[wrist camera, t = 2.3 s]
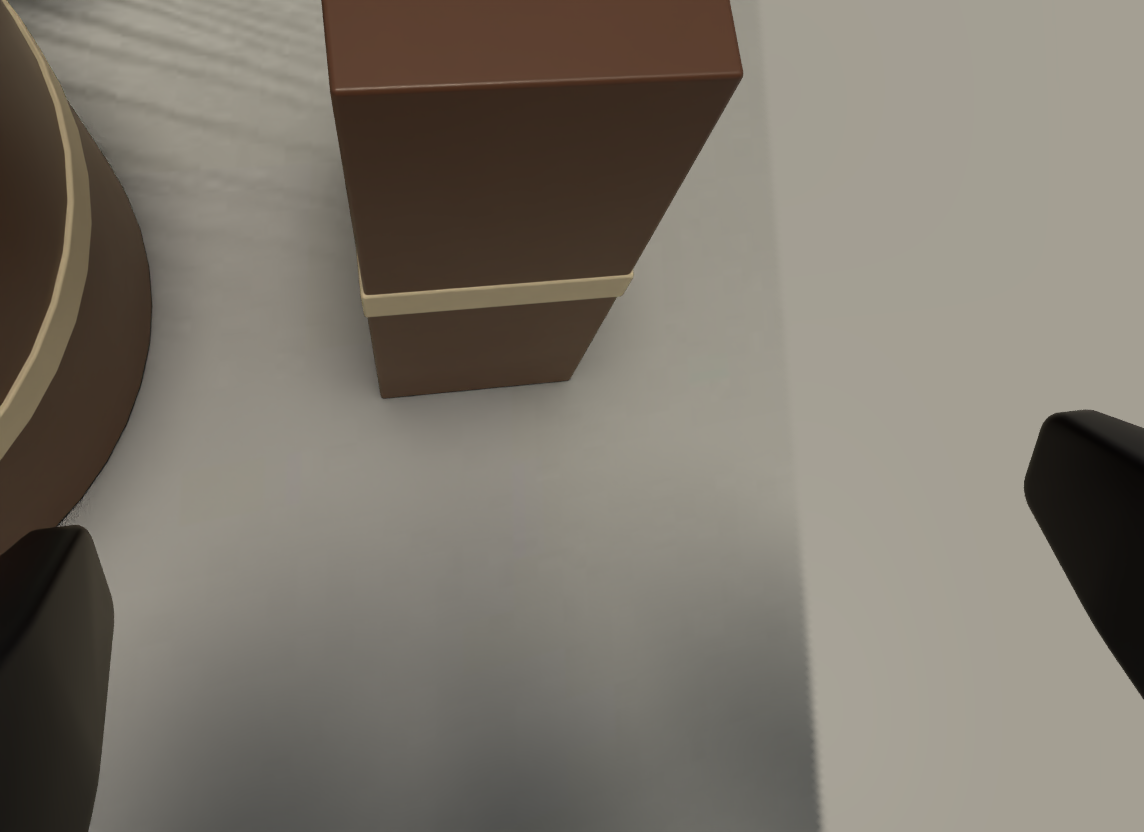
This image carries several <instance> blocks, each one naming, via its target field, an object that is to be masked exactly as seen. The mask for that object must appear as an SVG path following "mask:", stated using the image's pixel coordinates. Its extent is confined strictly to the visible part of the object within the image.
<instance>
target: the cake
mask: <svg viewBox="0 0 1144 832" xmlns="http://www.w3.org/2000/svg"><path fill="white" fill-rule="evenodd" d="M151 309H152V302H151V289H150V277H149V266H148V261H147V257H146V253H145V248H144V244H143V240H142V235H141V231H140V228H139V225H138V223H137V220H136V218H135V215H134V213H133V210H132V207H131V205H130V202H129V200H128V197H127V195H126V193H125V191H124V189H123V188H122V186H121V184H120V182H119V181H118V179H117V177H116V175H115V174H114V172H113V170H112V168H111V167H110V165H109V163H108V161H107V160H106V158H105V157H104V155H103V154H102V152H101V151H100V149H99V148H98V146H97V145H96V143H95V142H94V140H93V139H92V137H91V136H90V134H89V132H88V131H87V129H86V128H85V126H84V125H83V123H82V122H81V120H80V119H79V117H78V116H77V114H76V113H75V111H74V110H73V108H72V107H71V105H70V104H69V102H68V100H67V99H66V97H65V94H64V92H63V89H62V87H61V85H60V83H59V81H58V80H57V78H56V76H55V74H54V72H53V71H52V69H51V67H50V65H49V64H48V62H47V60H46V58H45V57H44V55H43V53H42V51H41V50H40V48H39V46H38V45H37V43H36V42H35V40H34V38H33V37H32V35H31V34H30V32H29V31H28V29H27V28H26V26H25V24H24V23H23V21H22V20H21V18H20V17H19V16H18V14H17V13H16V12H15V10H14V9H13V8H12V7H11V5H10V4H9V3H8V1H7V0H0V556H1V555H2V554H3V553H4V552H5V551H7V550H8V549H9V548H10V547H11V546H13V545H14V544H15V543H16V542H17V541H19V540H20V539H21V538H22V537H23V536H25V535H26V534H28V533H29V532H31V531H33V530H37V529H44V528H52V527H56V526H57V525H58V523H59V522H60V521H61V520H62V519H63V518H64V517H65V516H66V515H67V513H68V512H69V511H70V510H71V509H72V508H73V507H74V506H75V504H76V503H77V502H78V501H79V500H80V499H81V498H82V496H83V495H84V493H85V492H86V490H87V489H88V488H89V486H90V485H91V483H92V482H93V480H94V479H95V477H96V476H97V475H98V473H99V472H100V470H101V469H102V467H103V466H104V465H105V463H106V462H107V460H108V458H109V456H110V454H111V452H112V450H113V448H114V446H115V444H116V442H117V440H118V439H119V437H120V435H121V433H122V431H123V429H124V427H125V425H126V423H127V420H128V418H129V415H130V412H131V409H132V407H133V404H134V401H135V398H136V396H137V393H138V390H139V387H140V384H141V380H142V375H143V371H144V366H145V361H146V357H147V352H148V347H149V338H150V323H151Z"/></svg>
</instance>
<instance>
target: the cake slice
mask: <svg viewBox="0 0 1144 832" xmlns="http://www.w3.org/2000/svg"><path fill="white" fill-rule="evenodd" d="M321 1H322V11H323V22H324V32H325V43H326V53H327V64H328V74H329V85H330V94H331V100H332V106H333V112H334V118H335V124H336V130H337V136H338V142H339V148H340V154H341V160H342V166H343V172H344V178H345V184H346V190H347V196H348V202H349V208H350V214H351V220H352V226H353V232H354V238H355V244H356V253H357V263H358V274H359V284H360V294H361V301H362V306H363V312H364V315H365V317H368V322H369V328H370V334H371V340H372V346H373V353H374V359H375V365H376V371H377V377H378V383H379V389H380V395H381V397H382V398H391V397H401V396H412V395H422V394H432V393H443V392H453V391H463V390H473V389H484V388H494V387H504V386H515V385H525V384H535V383H546V382H556V381H566V380H569V379H570V378H571V376H572V375H573V373H574V371H575V369H576V368H577V366H578V364H579V362H580V361H581V359H582V357H583V355H584V354H585V352H586V350H587V348H588V347H589V345H590V343H591V341H592V340H593V338H594V336H595V334H596V333H597V331H598V329H599V327H600V326H601V324H602V322H603V320H604V319H605V317H606V315H607V313H608V312H609V310H610V308H611V306H612V305H613V303H614V301H615V299H616V298H617V297H619V296H622V295H623V294H624V292H625V290H626V289H627V287H628V285H629V284H630V282H631V280H632V279H633V276H634V273H633V268H634V266H635V264H636V263H637V261H638V259H639V257H640V256H641V254H642V252H643V251H644V249H645V247H646V245H647V244H648V242H649V240H650V238H651V237H652V235H653V233H654V231H655V230H656V228H657V226H658V224H659V223H660V221H661V219H662V217H663V216H664V214H665V212H666V210H667V209H668V207H669V205H670V203H671V202H672V200H673V198H674V196H675V195H676V193H677V191H678V189H679V188H680V186H681V184H682V182H683V181H684V179H685V177H686V175H687V174H688V172H689V170H690V168H691V167H692V165H693V163H694V161H695V160H696V158H697V156H698V154H699V153H700V151H701V149H702V147H703V146H704V144H705V142H706V140H707V139H708V137H709V135H710V133H711V132H712V130H713V128H714V126H715V125H716V123H717V121H718V119H719V118H720V116H721V114H722V112H723V111H724V109H725V107H726V105H727V104H728V102H729V100H730V98H731V97H732V95H733V93H734V91H735V90H736V88H737V86H738V84H739V83H740V81H741V79H742V77H743V69H742V64H741V58H740V53H739V48H738V42H737V37H736V32H735V27H734V21H733V16H732V11H731V5H730V0H321Z"/></svg>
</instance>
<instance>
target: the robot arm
mask: <svg viewBox="0 0 1144 832" xmlns="http://www.w3.org/2000/svg"><path fill="white" fill-rule="evenodd" d="M1024 492H1025V497H1026V501H1027V504H1028V506H1029V508H1030V510H1031V511H1032V513H1033V515H1034V517H1035V519H1036V521H1037V522H1038V524H1039V526H1040V528H1041V530H1042V532H1043V534H1044V535H1045V537H1046V539H1047V541H1048V543H1049V544H1050V546H1051V548H1052V550H1053V552H1054V554H1055V556H1056V557H1057V559H1058V561H1059V563H1060V565H1061V566H1062V568H1063V570H1064V572H1065V574H1066V576H1067V578H1068V579H1069V581H1070V583H1071V585H1072V587H1073V589H1074V590H1075V592H1076V594H1077V596H1078V598H1079V600H1080V601H1081V603H1082V605H1083V607H1084V609H1085V610H1086V612H1087V614H1088V616H1089V617H1090V619H1091V621H1092V623H1093V624H1094V626H1095V628H1096V629H1097V631H1098V632H1099V634H1100V635H1101V637H1102V638H1103V640H1104V642H1105V643H1106V645H1107V646H1108V648H1109V649H1110V651H1111V652H1112V654H1113V655H1114V657H1115V658H1116V660H1117V661H1118V663H1119V664H1120V665H1121V667H1122V668H1123V670H1124V671H1125V673H1126V674H1127V676H1128V677H1129V679H1130V680H1131V682H1132V683H1133V685H1134V686H1135V688H1136V689H1137V690H1138V692H1139V693H1140V695H1141V696H1142V698H1143V699H1144V428H1142V427H1139V426H1136V425H1133V424H1131V423H1128V422H1125V421H1122V420H1120V419H1117V418H1114V417H1111V416H1108V415H1105V414H1103V413H1100V412H1097V411H1094V410H1077V411H1069V412H1060V413H1055V414H1053V415H1051V416H1049V417H1048V418H1047V419H1046V420H1045V422H1044V423H1043V425H1042V427H1041V429H1040V432H1039V436H1038V439H1037V442H1036V445H1035V448H1034V451H1033V454H1032V457H1031V460H1030V463H1029V467H1028V470H1027V473H1026V476H1025V480H1024ZM113 629H114V608H113V601H112V597H111V593H110V590H109V587H108V584H107V581H106V578H105V575H104V572H103V569H102V566H101V563H100V560H99V557H98V554H97V551H96V548H95V545H94V542H93V539H92V537H91V535H90V534H89V532H88V531H87V529H86V528H84V527H82V526H80V525H70V526H61V527H52V528H44V529H37V530H33V531H31V532H29V533H28V534H26V535H25V536H23V537H22V538H21V539H20V540H19V541H17V542H16V543H15V544H14V545H13V546H11V547H10V548H9V549H8V550H7V551H5V552H4V553H3V554H2V555H1V556H0V832H88V830H89V826H90V821H91V817H92V812H93V807H94V802H95V797H96V792H97V786H98V779H99V771H100V763H101V754H102V743H103V733H104V723H105V712H106V702H107V692H108V681H109V671H110V660H111V650H112V640H113Z"/></svg>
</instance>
